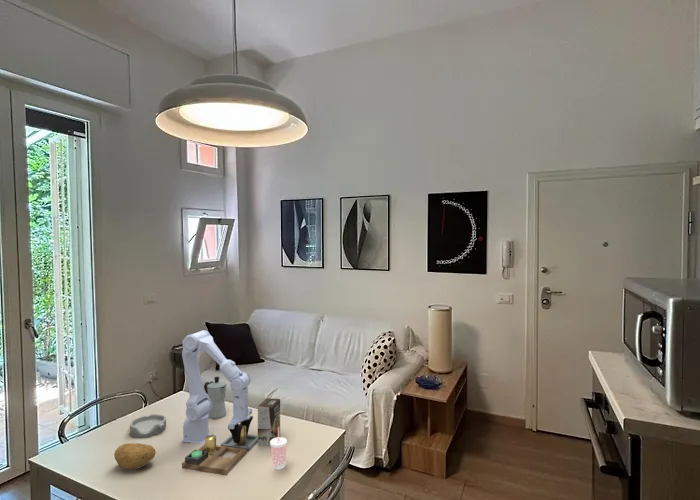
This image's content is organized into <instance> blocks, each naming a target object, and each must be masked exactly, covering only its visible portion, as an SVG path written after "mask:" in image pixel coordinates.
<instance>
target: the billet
mask: <svg viewBox="0 0 700 500" xmlns="http://www.w3.org/2000/svg"><path fill="white" fill-rule="evenodd" d="M238 425H239V426H243V428H242V430H241V436H240V442H239V443H236V445H237V446H242V445H245V444H246V424H240V423H238Z"/></svg>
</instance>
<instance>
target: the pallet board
mask: <svg viewBox="0 0 700 500" xmlns="http://www.w3.org/2000/svg"><path fill="white" fill-rule="evenodd" d="M197 450H200V451H202V456H201V457H200V458H191V454H192V452H194V451H197ZM227 453H232V454H235V455H234V456H233V457H225V456H224V455H225V454H227ZM247 453H248V452H247V449H241V448H234V447H226V446H221V445H219V444H216V453H215V454H214V455H213V456H212V455H208V451H205V443H203V445H202V446H201V447H200V448H198V449H194V450H193V451H191V452H190V453H189V454H188V455H186V456H185V458H184V461H183V462H181V469H182V470H188V471H195V472H202V473H208V474H212V475H214V474H215V475H220V476H225V477H227V476H228V475H229V473H230V471H231V470H232V469H233V468H234V467H235V466H236V465H237V464H238V463H239V462H240V461H241V460H242V459H243V458H244V457H245V456H246V455H247Z"/></svg>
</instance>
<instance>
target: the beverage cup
mask: <svg viewBox="0 0 700 500" xmlns="http://www.w3.org/2000/svg"><path fill="white" fill-rule="evenodd" d="M287 444H288V440H287V438H286V437H283V436H280V437H279V427H278V437H276V438H273V439H272V440H271V441H270V446H271V447H270V450H271V453H270V454H271V463H272V464H271V465H272V468H273V469H274V470H281V469H284V468H285V466H286V461H287V460H286V459H287V457H286V456H287Z"/></svg>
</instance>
